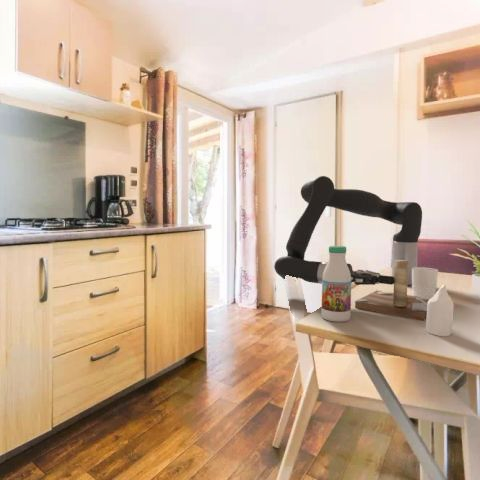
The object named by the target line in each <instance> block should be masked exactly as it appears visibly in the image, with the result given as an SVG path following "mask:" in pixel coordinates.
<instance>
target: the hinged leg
mask: <svg viewBox="0 0 480 480" xmlns="http://www.w3.org/2000/svg"><path fill="white" fill-rule="evenodd" d="M407 281H408V261H406V260H395V270H394V284H393V293H394V294H393V305H394V306H397V307H406V304H407V295H408V285H407Z"/></svg>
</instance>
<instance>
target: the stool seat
mask: <svg viewBox="0 0 480 480" xmlns="http://www.w3.org/2000/svg"><path fill="white" fill-rule="evenodd" d="M393 294H394V292H388V291H382V290H374V291H372V292H371V293H369V294H367V295H365V296H363V297H361V298H359V299H357V300H355V303H354V308H355V309H361V310H366V311H372V312H376V313H382V314H388V315H393V316H398V317H404V318H409V319H413V320H414V319H415V320H419V321H425V319H427V311H412V310H411V303H419V300H423V301H424V302H426V303H427V304H428V301H429V300H430V299H431V298H424V297H417V296H412V295H411V294H410V295H409V294H407V304H406V307H397V306H394V305H393Z"/></svg>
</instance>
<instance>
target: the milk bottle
mask: <svg viewBox="0 0 480 480" xmlns="http://www.w3.org/2000/svg"><path fill="white" fill-rule="evenodd" d="M328 255H329V257H328V260H327V262H328V263H327V265H326V267H325V269H324V272H323V279H322V284H321V310H320V311H321V318H323V319H324V320H327V321H329V322H335V323H337V322H339V323H342V322H348V321H349V320H350V319H351V310H352V309H351V306H352V283H351V274H350V270H349V268H348V266H347V264H348V262H347V260H346V256H347V246H343V245H330V246H329V247H328Z"/></svg>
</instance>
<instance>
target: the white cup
mask: <svg viewBox="0 0 480 480" xmlns="http://www.w3.org/2000/svg"><path fill="white" fill-rule="evenodd" d="M438 275H439V269H437V268H432V267H425V266H424V267H421V266H420V267H419V266H417V267H414V268H412V285H411V289H412V290H411V291H412V292H411V293H412V295H411V296H417V297H424V298H432V297H433V296H434V295H435V294H436V292H437V285H438V284H437V283H438Z"/></svg>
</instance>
